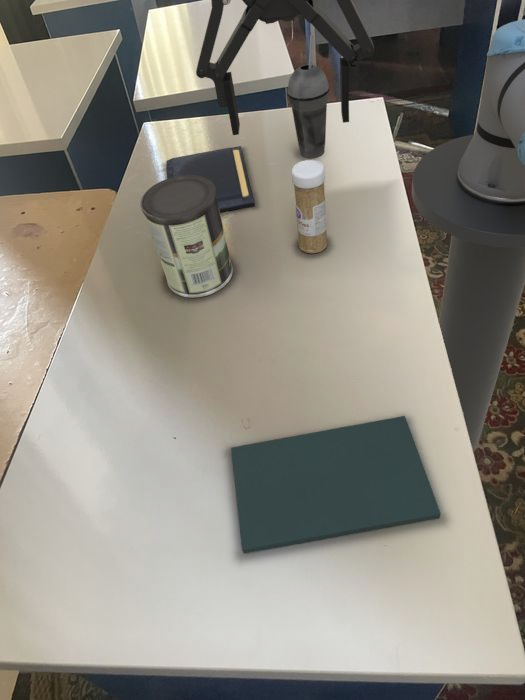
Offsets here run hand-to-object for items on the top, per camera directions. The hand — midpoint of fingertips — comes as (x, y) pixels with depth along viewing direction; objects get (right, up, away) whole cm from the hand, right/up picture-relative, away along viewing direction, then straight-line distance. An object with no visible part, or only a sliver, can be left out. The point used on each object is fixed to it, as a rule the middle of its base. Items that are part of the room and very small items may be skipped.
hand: (290, 123), depth 71 cm
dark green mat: (+4, -42, -10) cm, 44 cm away
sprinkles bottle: (+4, -12, +17) cm, 21 cm away
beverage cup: (+6, +8, +35) cm, 37 cm away
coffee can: (-13, -17, +16) cm, 27 cm away
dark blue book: (-13, +2, +33) cm, 35 cm away
